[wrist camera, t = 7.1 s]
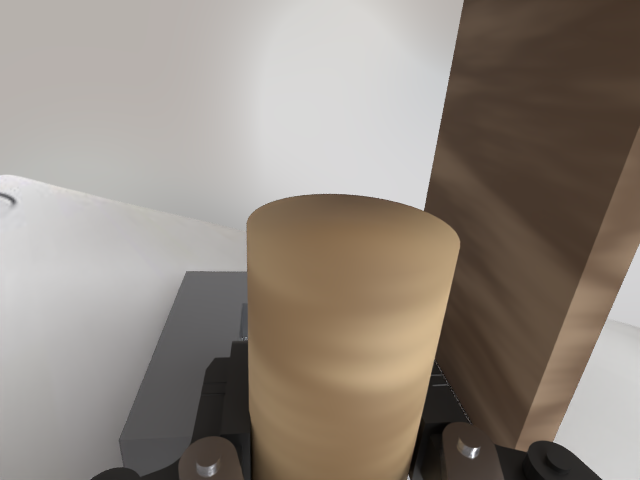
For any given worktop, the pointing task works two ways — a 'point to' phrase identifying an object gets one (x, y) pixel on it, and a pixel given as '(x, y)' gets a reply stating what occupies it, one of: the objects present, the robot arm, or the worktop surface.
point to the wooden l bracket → (535, 202)
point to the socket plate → (183, 367)
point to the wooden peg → (342, 333)
